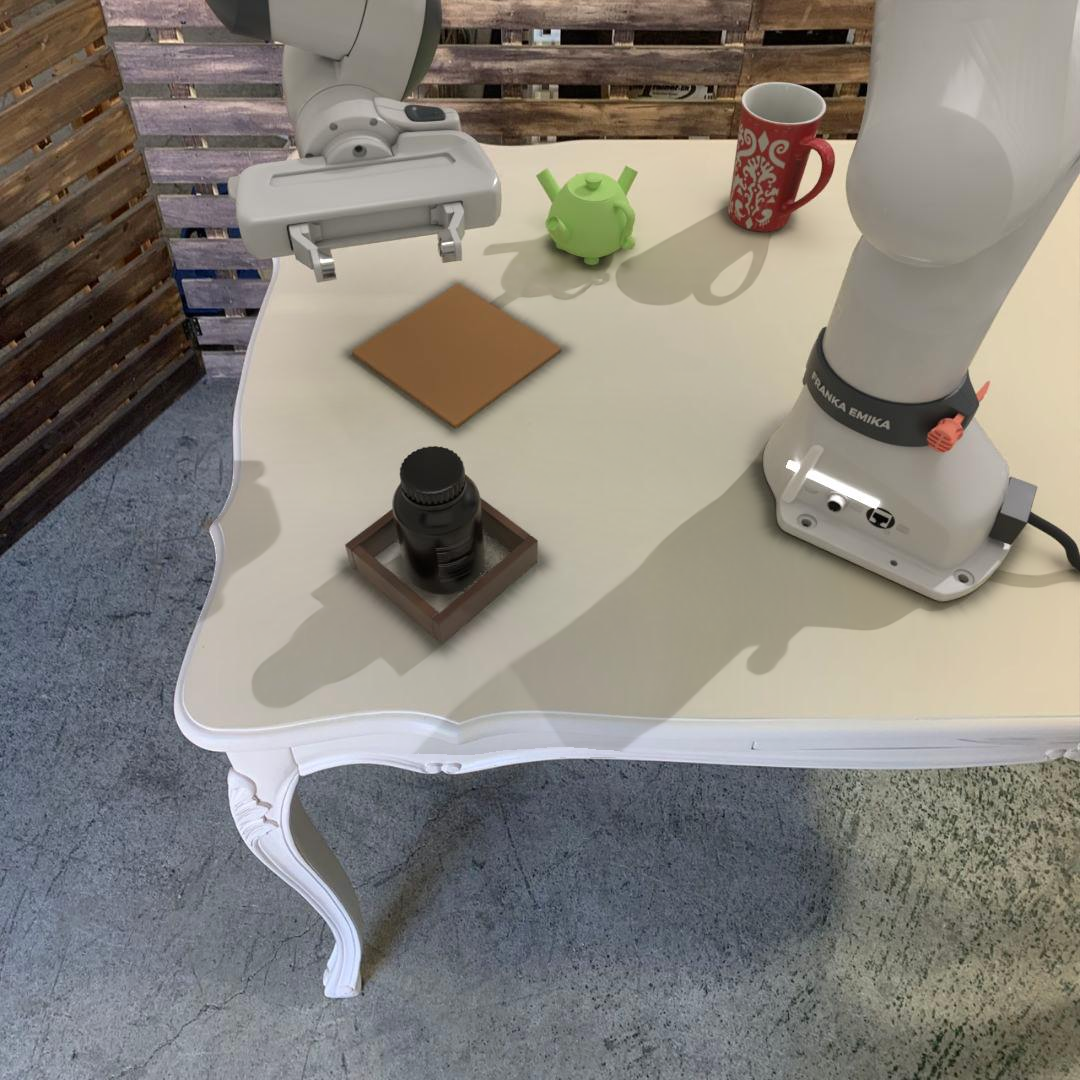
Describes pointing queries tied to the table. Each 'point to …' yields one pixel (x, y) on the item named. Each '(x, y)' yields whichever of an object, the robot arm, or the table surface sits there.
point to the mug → (776, 154)
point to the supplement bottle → (438, 521)
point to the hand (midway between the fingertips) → (390, 264)
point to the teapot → (590, 213)
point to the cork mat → (456, 354)
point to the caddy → (467, 603)
